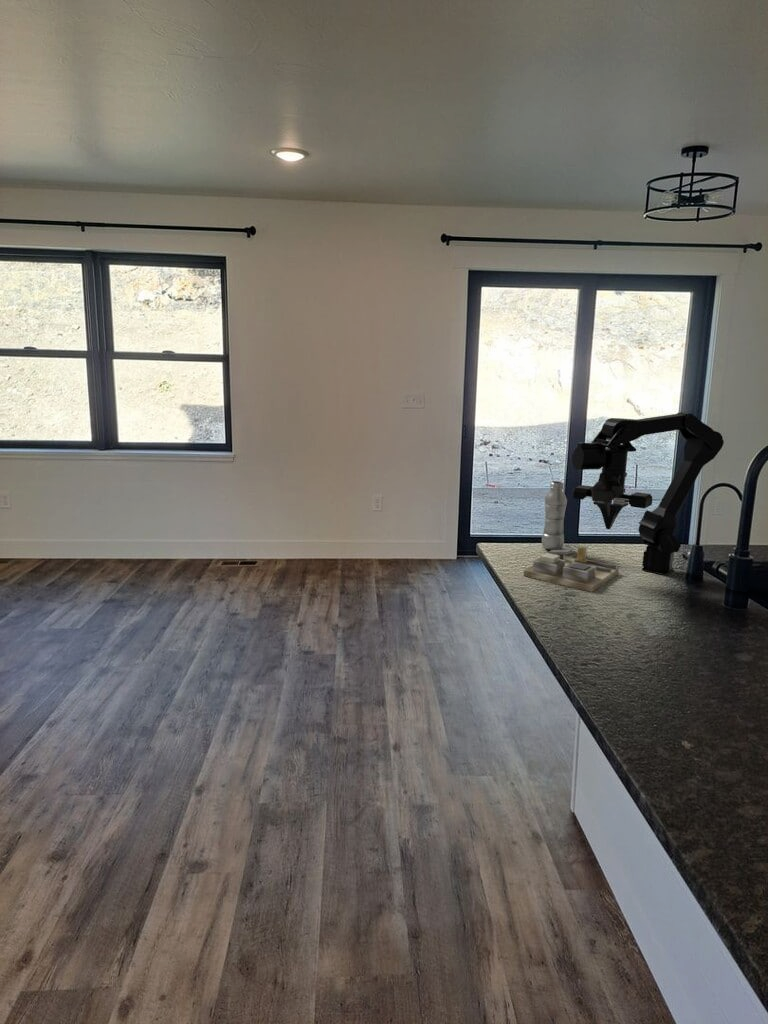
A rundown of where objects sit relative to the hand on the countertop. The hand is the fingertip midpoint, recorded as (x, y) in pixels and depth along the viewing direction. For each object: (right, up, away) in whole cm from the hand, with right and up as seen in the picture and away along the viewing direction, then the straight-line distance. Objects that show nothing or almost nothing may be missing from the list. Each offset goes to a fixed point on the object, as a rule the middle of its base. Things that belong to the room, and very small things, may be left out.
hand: (608, 529), depth 165 cm
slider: (-5, -9, +5) cm, 12 cm away
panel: (-9, -12, +1) cm, 15 cm away
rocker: (-10, -6, +9) cm, 15 cm away
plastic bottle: (-8, -7, +24) cm, 26 cm away
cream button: (-15, -9, -1) cm, 18 cm away
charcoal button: (-9, -11, -6) cm, 16 cm away
